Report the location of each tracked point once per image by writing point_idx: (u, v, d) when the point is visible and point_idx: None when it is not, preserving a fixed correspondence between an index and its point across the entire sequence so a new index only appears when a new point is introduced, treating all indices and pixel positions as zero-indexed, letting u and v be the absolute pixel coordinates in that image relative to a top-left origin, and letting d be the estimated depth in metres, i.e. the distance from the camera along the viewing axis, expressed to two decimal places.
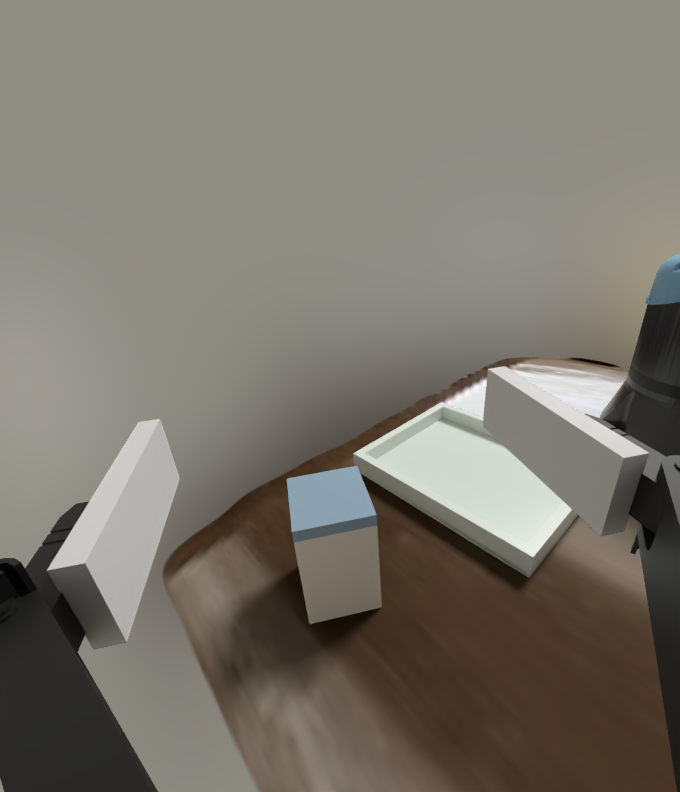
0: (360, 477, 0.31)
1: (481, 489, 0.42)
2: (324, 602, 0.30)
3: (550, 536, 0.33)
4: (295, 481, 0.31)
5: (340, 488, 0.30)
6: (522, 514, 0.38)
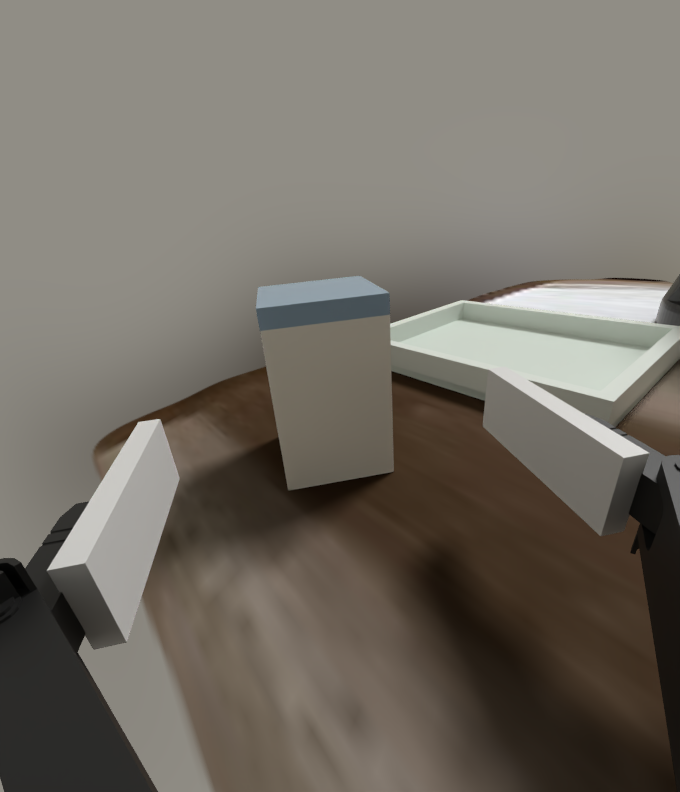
0: (363, 279, 0.21)
1: (520, 365, 0.32)
2: (310, 453, 0.20)
3: (632, 385, 0.23)
4: (270, 287, 0.21)
5: (334, 285, 0.20)
6: (580, 382, 0.28)
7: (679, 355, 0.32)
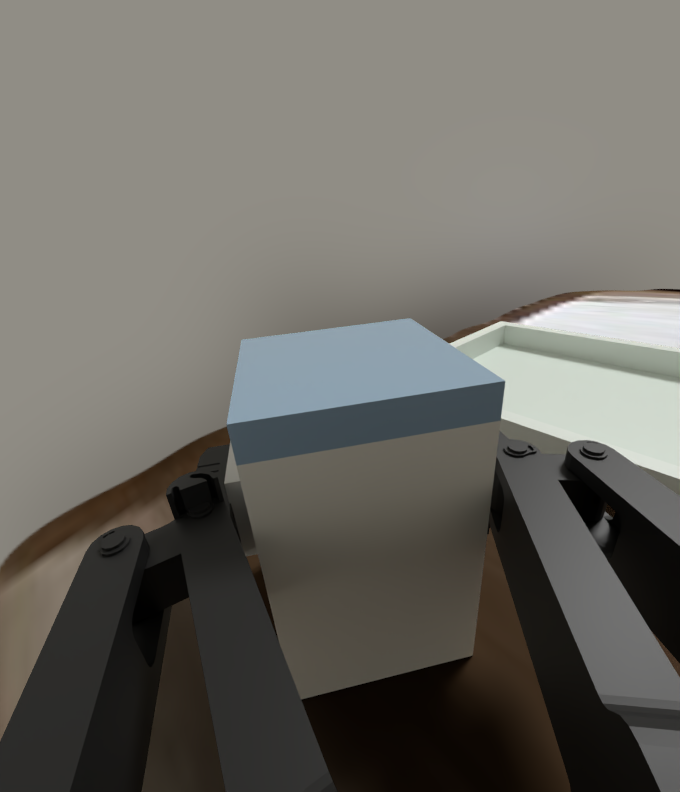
0: (423, 330, 0.12)
1: (610, 424, 0.23)
2: (334, 648, 0.11)
3: None
4: (261, 342, 0.12)
5: (376, 345, 0.11)
6: None
7: None
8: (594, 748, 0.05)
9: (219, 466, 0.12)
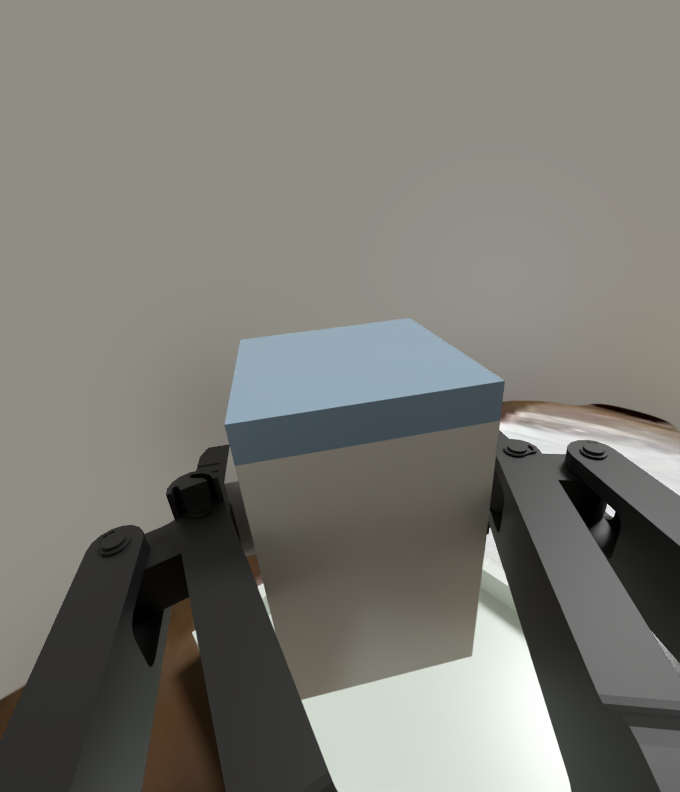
0: (422, 330, 0.12)
1: (433, 764, 0.19)
2: (333, 649, 0.11)
3: None
4: (260, 341, 0.12)
5: (375, 345, 0.11)
6: None
7: None
8: (593, 748, 0.05)
9: (219, 466, 0.12)
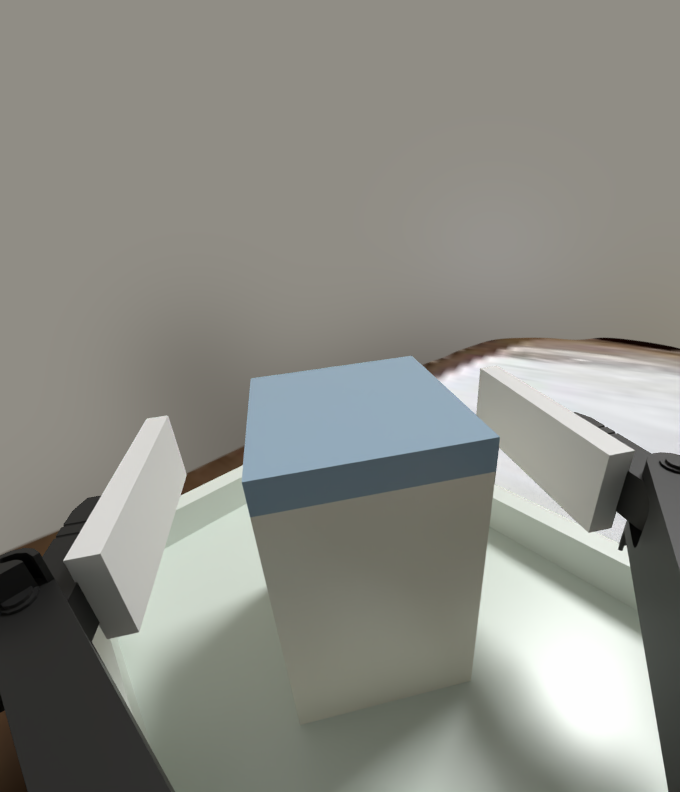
0: (424, 371, 0.13)
1: (367, 720, 0.12)
2: (339, 676, 0.12)
3: None
4: (270, 381, 0.13)
5: (379, 390, 0.12)
6: None
7: None
8: None
9: None
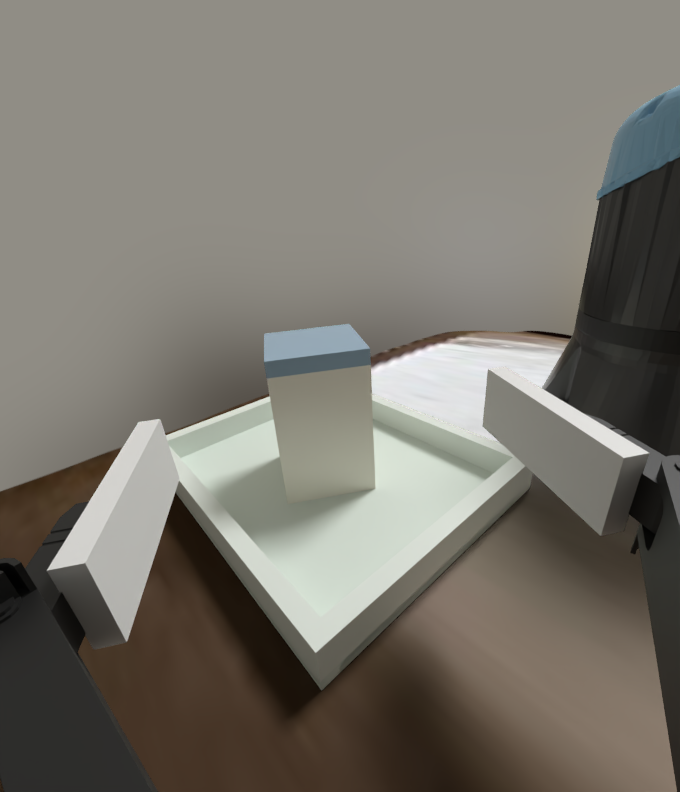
0: (351, 329, 0.25)
1: (321, 501, 0.25)
2: (306, 474, 0.24)
3: (375, 600, 0.16)
4: (274, 334, 0.26)
5: (327, 336, 0.24)
6: (365, 547, 0.21)
7: (520, 492, 0.25)
8: None
9: None
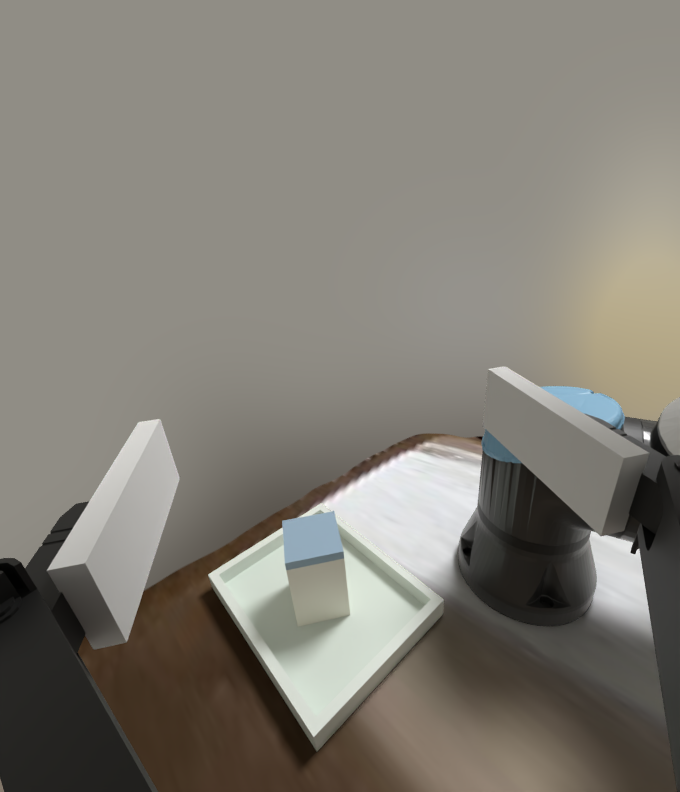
0: (335, 521, 0.42)
1: (317, 625, 0.42)
2: (308, 611, 0.41)
3: (343, 706, 0.33)
4: (288, 523, 0.43)
5: (320, 530, 0.41)
6: (341, 663, 0.38)
7: (435, 620, 0.42)
8: None
9: None
